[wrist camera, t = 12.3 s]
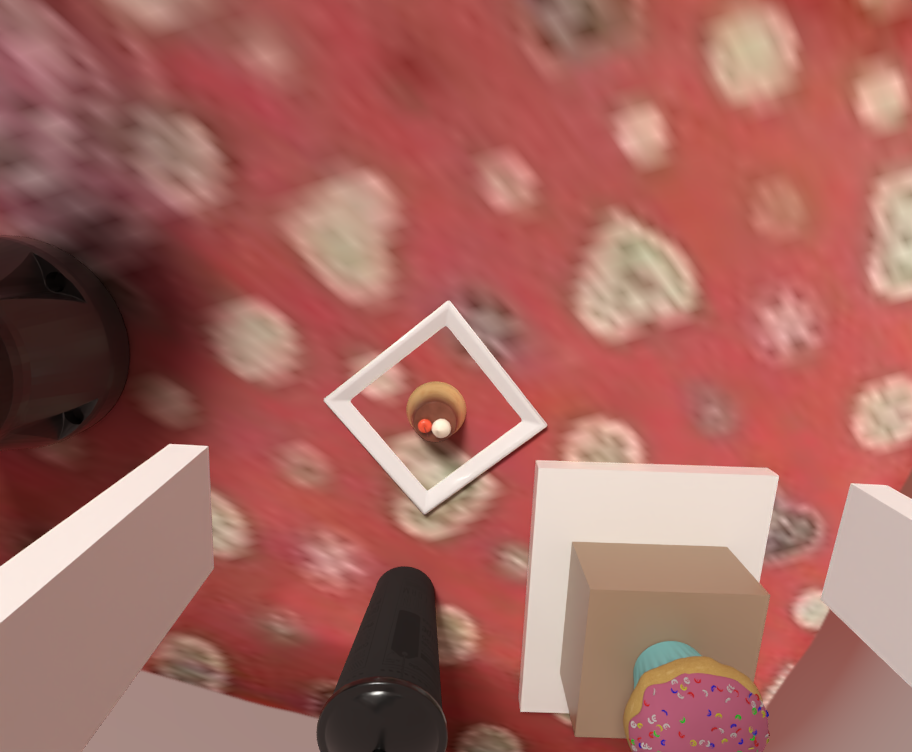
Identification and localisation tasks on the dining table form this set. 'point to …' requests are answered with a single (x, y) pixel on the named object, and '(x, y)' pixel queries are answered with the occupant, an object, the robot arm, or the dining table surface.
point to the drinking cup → (390, 675)
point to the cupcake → (692, 704)
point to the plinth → (626, 521)
